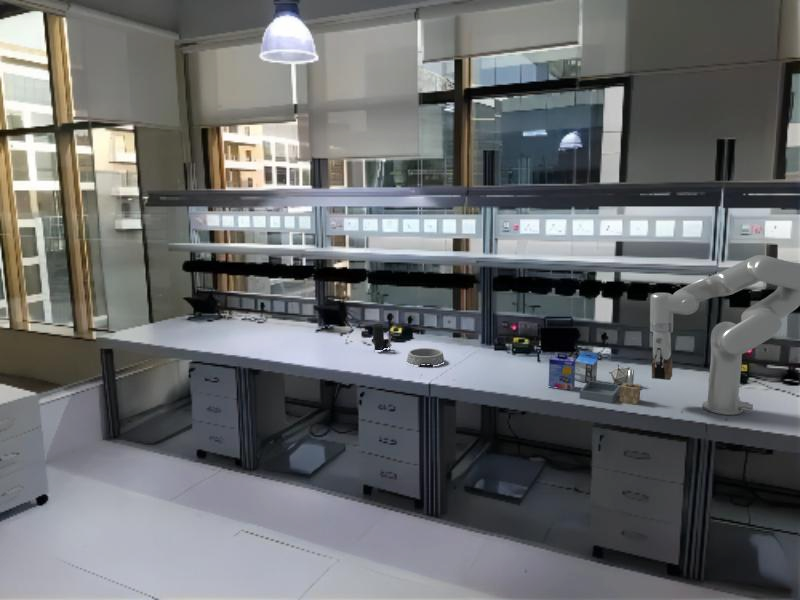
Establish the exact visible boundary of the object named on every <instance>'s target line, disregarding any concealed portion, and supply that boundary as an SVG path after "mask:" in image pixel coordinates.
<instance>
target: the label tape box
mask: <svg viewBox="0 0 800 600" xmlns="http://www.w3.org/2000/svg"><path fill="white" fill-rule="evenodd" d="M578 352H579V353H578V357H577V358H575V381H576V382H581V383H586V384H587V383H588V382H589V381H593V382H597V378H598V377H597V373H598V361H599V360H598V354H597V353H594V352H590V351H589V352H588V351H584V350H579V351H578Z"/></svg>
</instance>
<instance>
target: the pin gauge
mask: <svg viewBox="0 0 800 600" xmlns="http://www.w3.org/2000/svg"><path fill="white" fill-rule="evenodd" d="M634 376H635V370H634V369H632V368H631V369H630V368H629V370H628V385H627V387H633V384H634V381H635V378H634Z"/></svg>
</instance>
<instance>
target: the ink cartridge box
mask: <svg viewBox="0 0 800 600" xmlns="http://www.w3.org/2000/svg"><path fill="white" fill-rule="evenodd" d="M575 360H576V358H575V357H569V356H568V355H567V353H557V355H551V356H550V357H549V361H548V386H550V387H557V388H564V389H563V390H566V389H570V390H569V391H574V390H575V383H576V382H575V381H576V380H575ZM557 388H556V389H557Z"/></svg>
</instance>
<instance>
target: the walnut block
mask: <svg viewBox="0 0 800 600" xmlns="http://www.w3.org/2000/svg"><path fill="white" fill-rule="evenodd" d="M660 362H662V361H660ZM664 368H665V370H664V379H662V378H655V359H654V358H653V360H652V361H651V379H654V380H655V379H657V380H666V381H671V380H672V379H671V378H672V377H673V359H670V358H669V359H668V360H666V359H664Z"/></svg>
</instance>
